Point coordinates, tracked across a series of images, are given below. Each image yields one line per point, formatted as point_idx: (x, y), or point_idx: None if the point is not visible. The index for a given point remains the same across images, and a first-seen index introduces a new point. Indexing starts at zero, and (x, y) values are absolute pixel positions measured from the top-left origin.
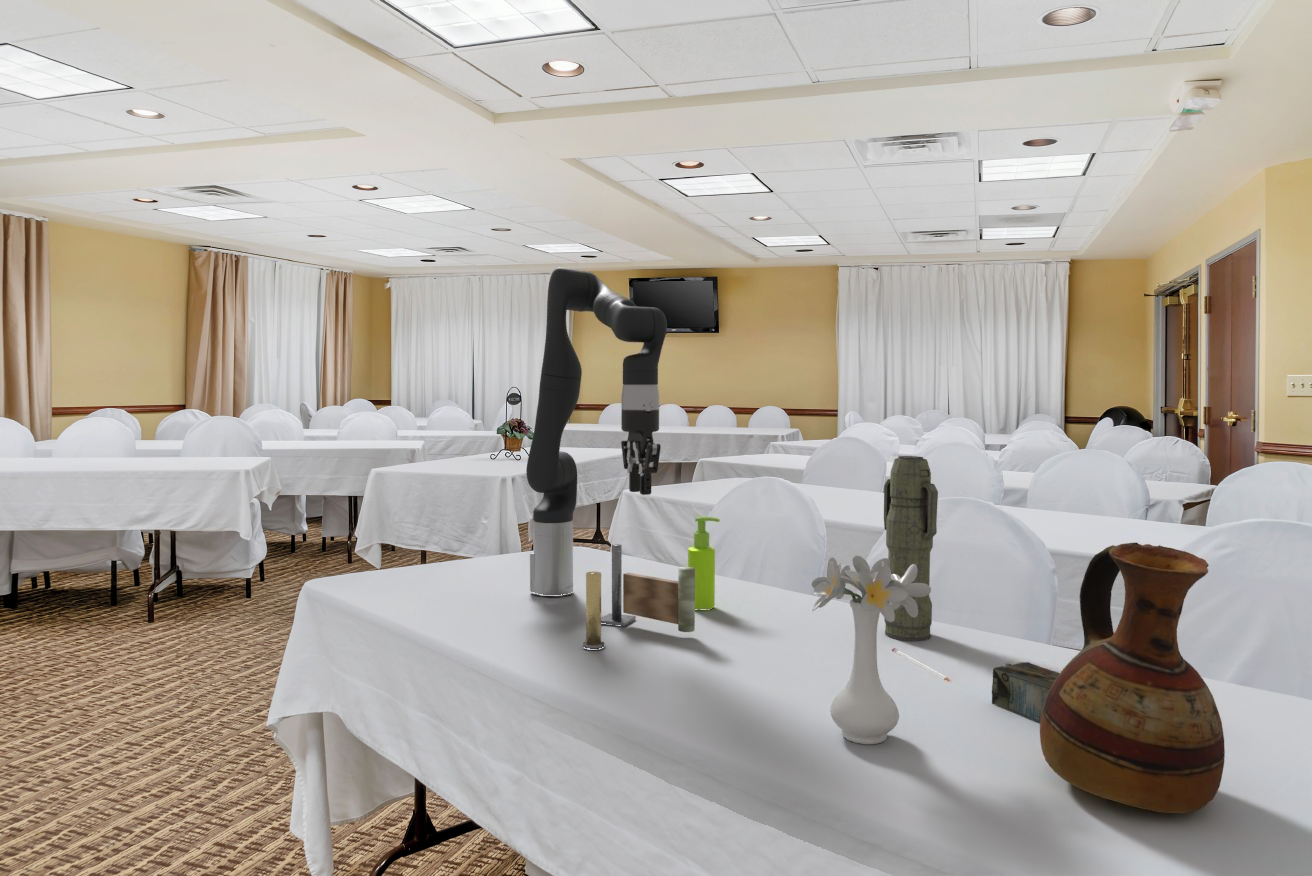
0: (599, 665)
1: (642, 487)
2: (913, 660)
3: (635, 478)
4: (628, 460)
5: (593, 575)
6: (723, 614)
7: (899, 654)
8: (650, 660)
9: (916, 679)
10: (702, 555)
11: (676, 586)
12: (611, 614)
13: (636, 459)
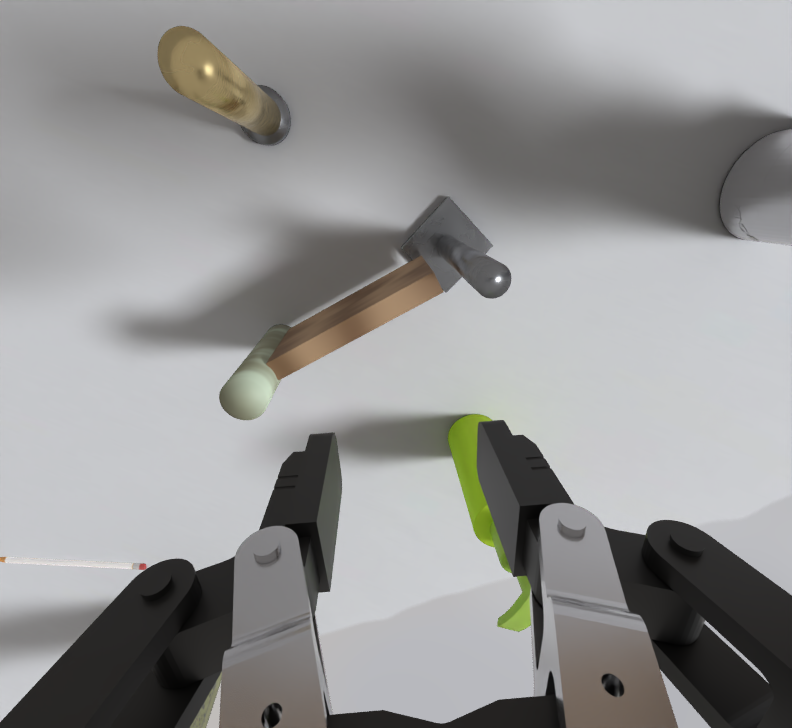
0: (125, 79)
1: (304, 466)
2: (86, 563)
3: (503, 510)
4: (570, 619)
5: (160, 52)
6: (412, 450)
7: (123, 563)
8: (147, 208)
9: (7, 532)
10: (474, 506)
11: (271, 358)
12: (482, 247)
13: (297, 683)
